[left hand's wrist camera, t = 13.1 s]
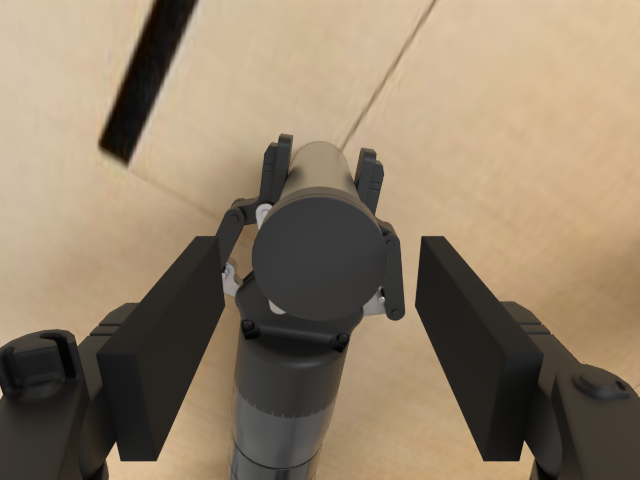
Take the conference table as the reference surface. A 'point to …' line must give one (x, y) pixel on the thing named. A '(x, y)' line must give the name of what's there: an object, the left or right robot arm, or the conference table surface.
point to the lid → (319, 254)
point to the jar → (319, 169)
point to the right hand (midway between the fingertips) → (327, 144)
